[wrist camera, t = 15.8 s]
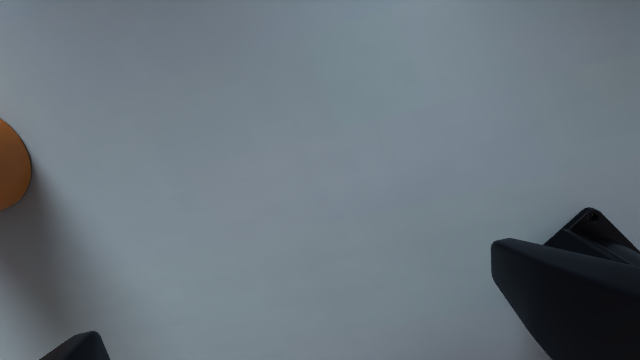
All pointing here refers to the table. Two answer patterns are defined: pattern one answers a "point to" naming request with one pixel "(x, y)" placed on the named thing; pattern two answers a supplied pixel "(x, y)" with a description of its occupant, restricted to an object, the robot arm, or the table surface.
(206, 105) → the table surface
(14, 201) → the sanitizer bottle
